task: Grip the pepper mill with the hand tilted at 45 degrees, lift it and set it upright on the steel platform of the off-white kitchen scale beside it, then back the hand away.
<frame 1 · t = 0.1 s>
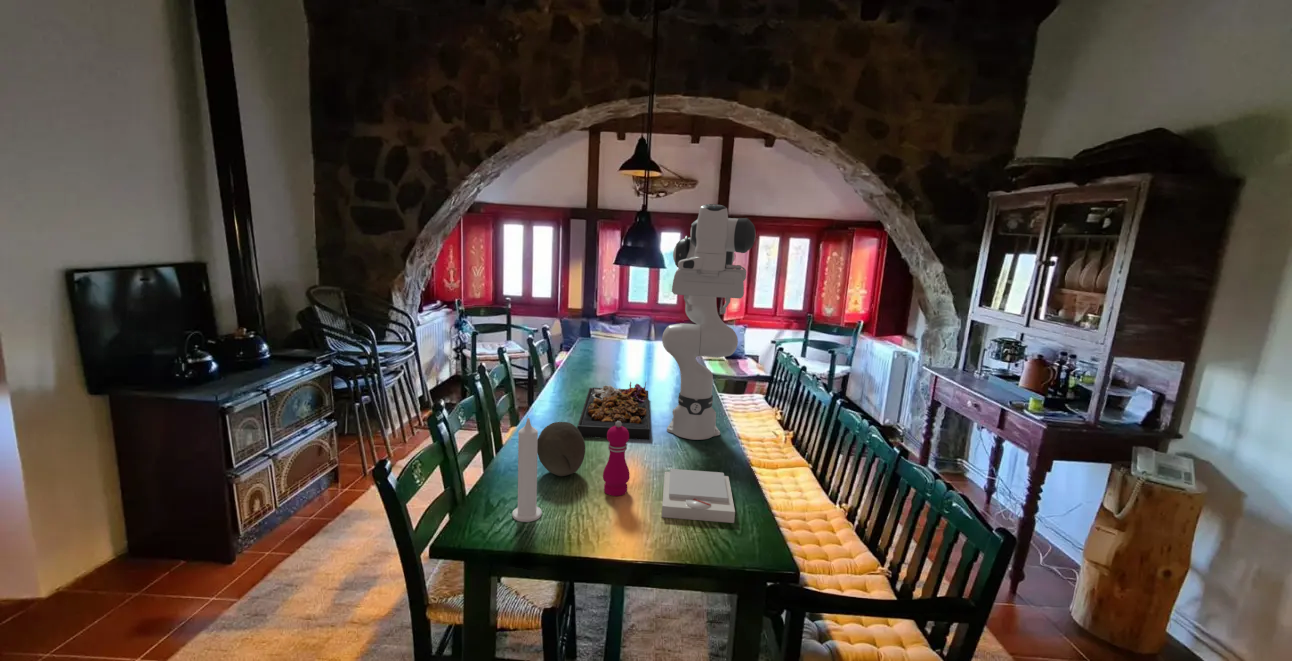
hand: (705, 312, 158), 48 cm above the table, tool pointing down, fingers open, 8 cm apart
pepper mill: (615, 491, 151), on the table
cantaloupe: (560, 474, 160), on the table
food platter: (616, 418, 211), on the table
kitchen scale: (696, 500, 148), on the table
candle: (527, 515, 137), on the table
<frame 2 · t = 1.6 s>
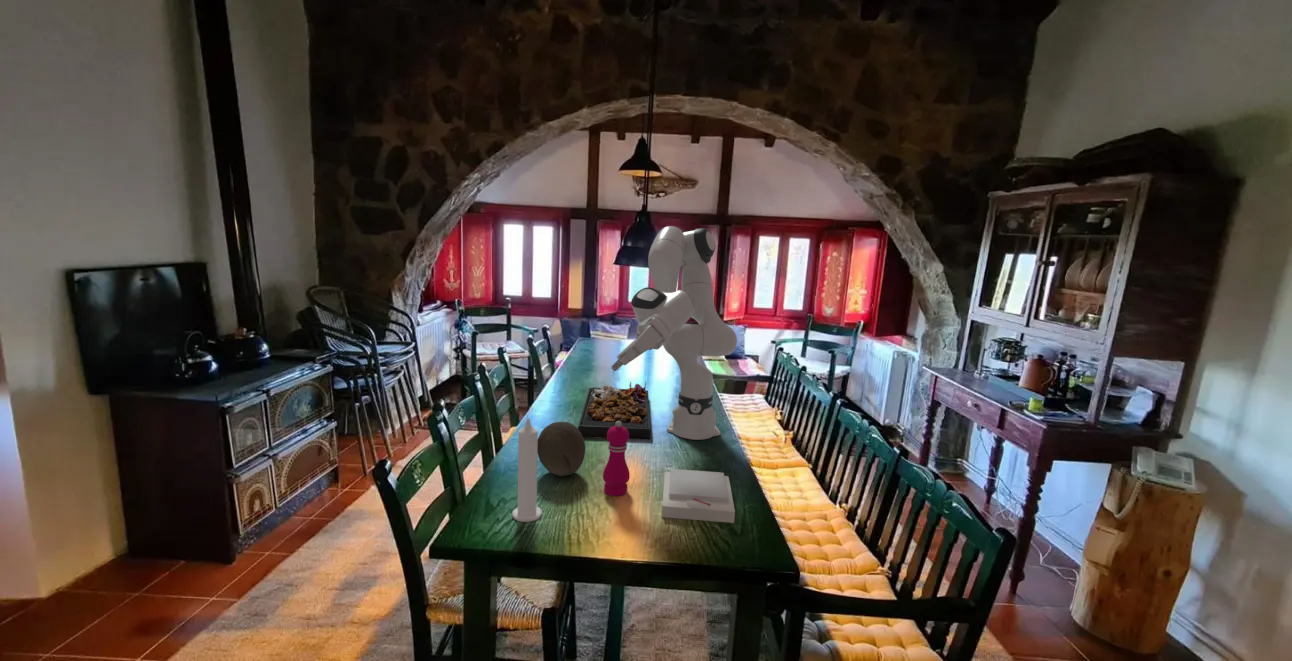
hand: (617, 366, 151), 34 cm above the table, tool tilted 55°, fingers open, 8 cm apart
nothing on the table moved.
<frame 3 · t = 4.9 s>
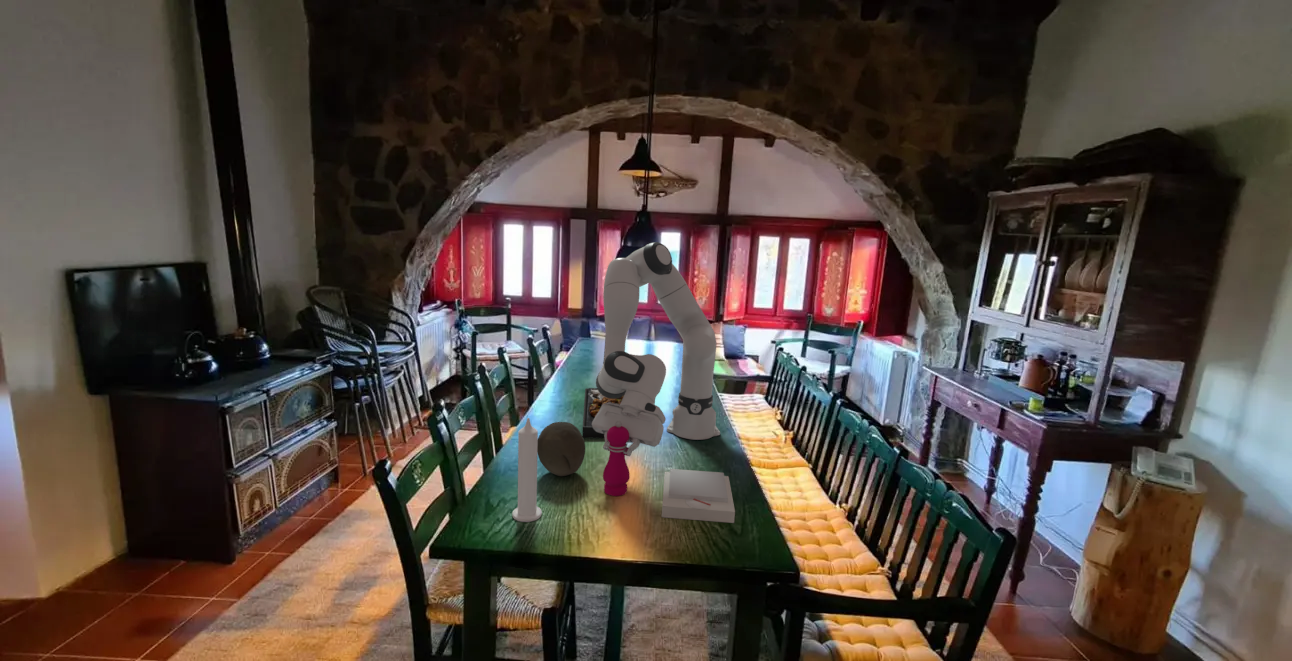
hand: (616, 452, 149), 11 cm above the table, tool tilted 45°, fingers closed on pepper mill, 5 cm apart
pepper mill: (615, 491, 151), on the table, touching gripper
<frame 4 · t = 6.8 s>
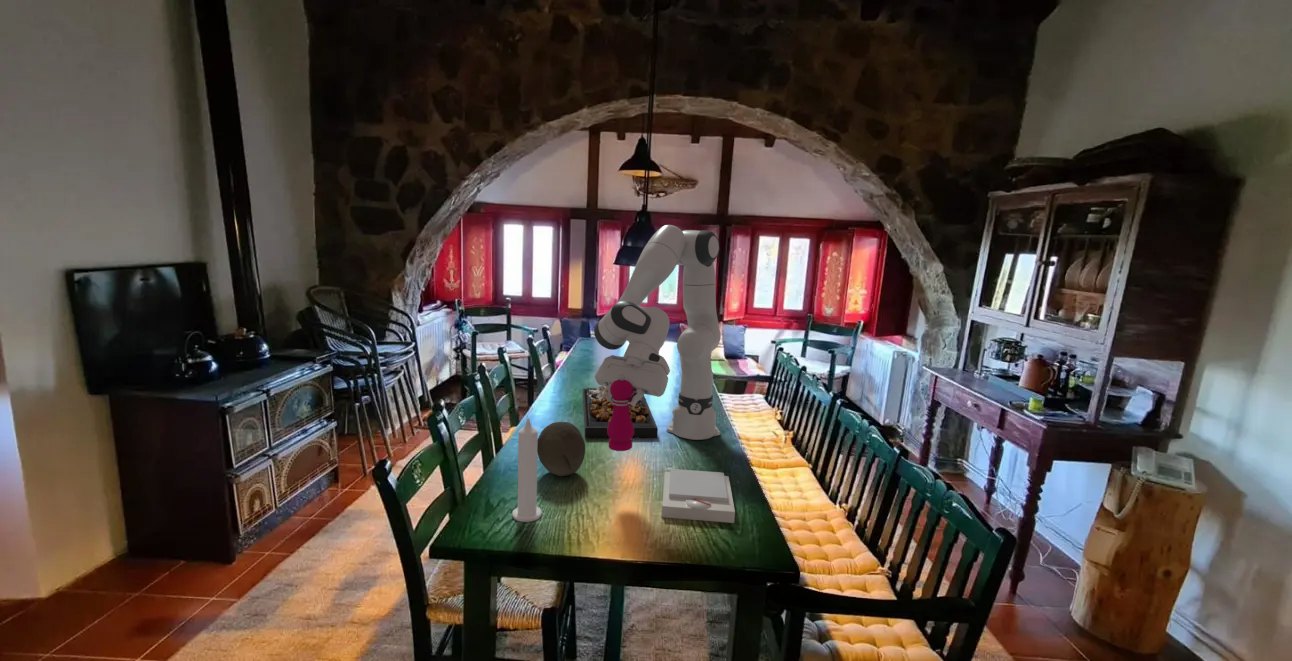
hand: (620, 403, 146), 25 cm above the table, tool tilted 45°, fingers closed on pepper mill, 5 cm apart
pepper mill: (620, 447, 149), point 13 cm above the table, touching gripper
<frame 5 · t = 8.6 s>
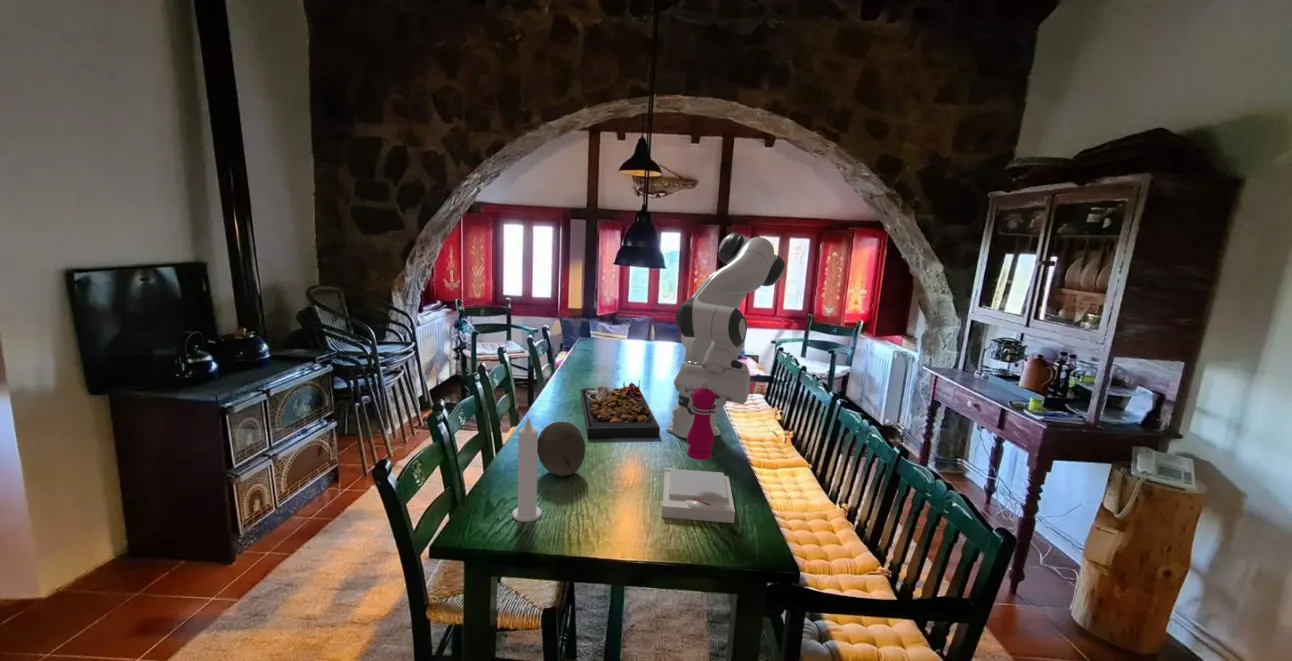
hand: (702, 410, 145), 25 cm above the table, tool tilted 45°, fingers closed on pepper mill, 5 cm apart
pepper mill: (699, 455, 148), point 12 cm above the table, touching gripper
when the fingers open (17 cm above the table, at t = 10.7 s): pepper mill moves 1 cm, resting on kitchen scale.
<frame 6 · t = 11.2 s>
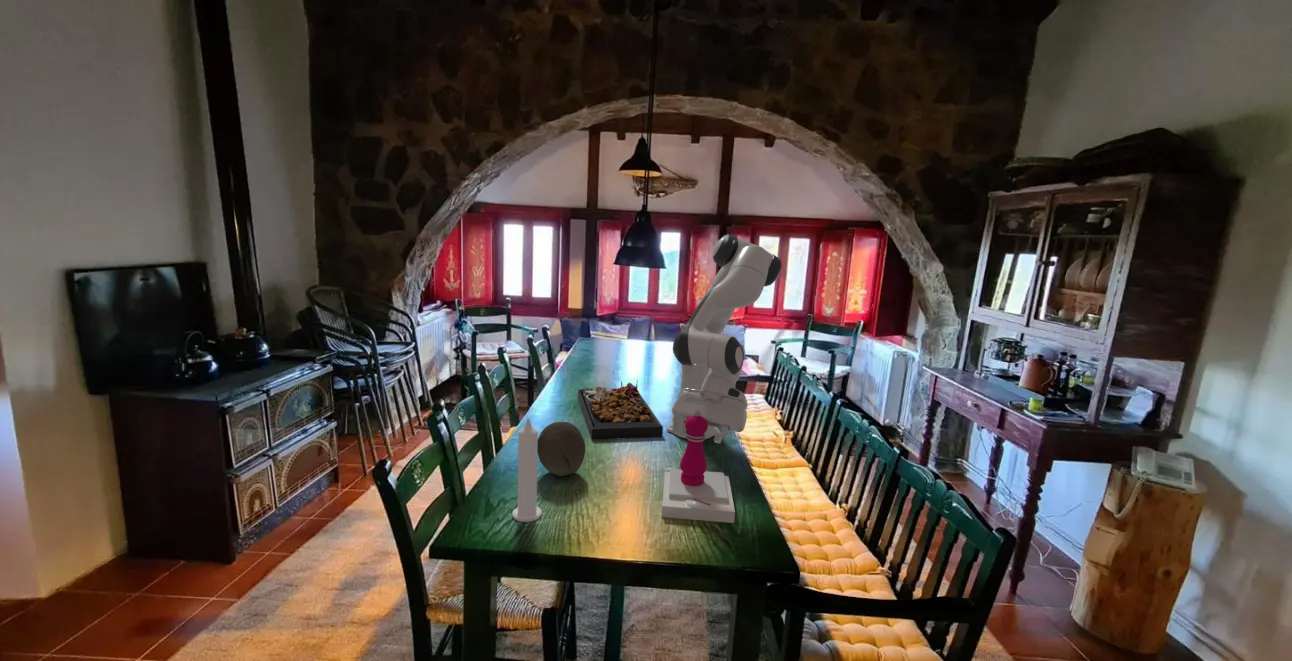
hand: (700, 438, 146), 17 cm above the table, tool tilted 45°, fingers open, 8 cm apart
pepper mill: (692, 481, 150), point 4 cm above the table, touching gripper, kitchen scale
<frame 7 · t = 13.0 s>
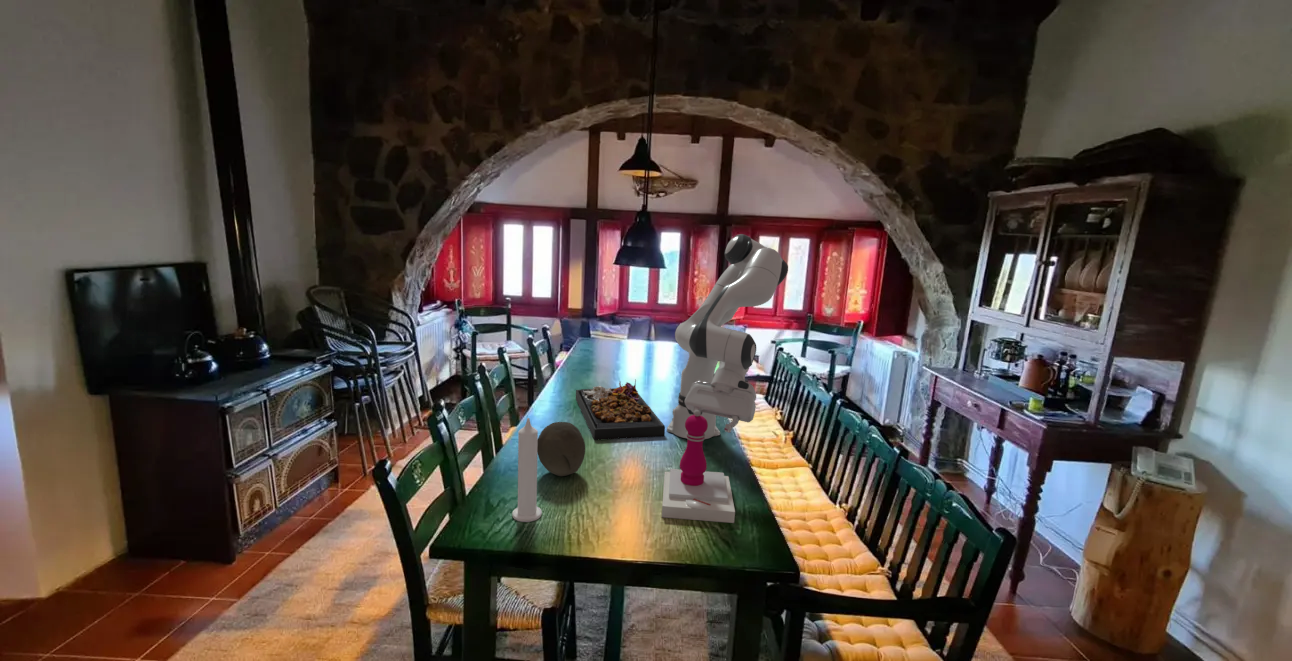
hand: (711, 427, 155), 17 cm above the table, tool tilted 45°, fingers open, 8 cm apart
pepper mill: (691, 481, 150), point 4 cm above the table, touching kitchen scale
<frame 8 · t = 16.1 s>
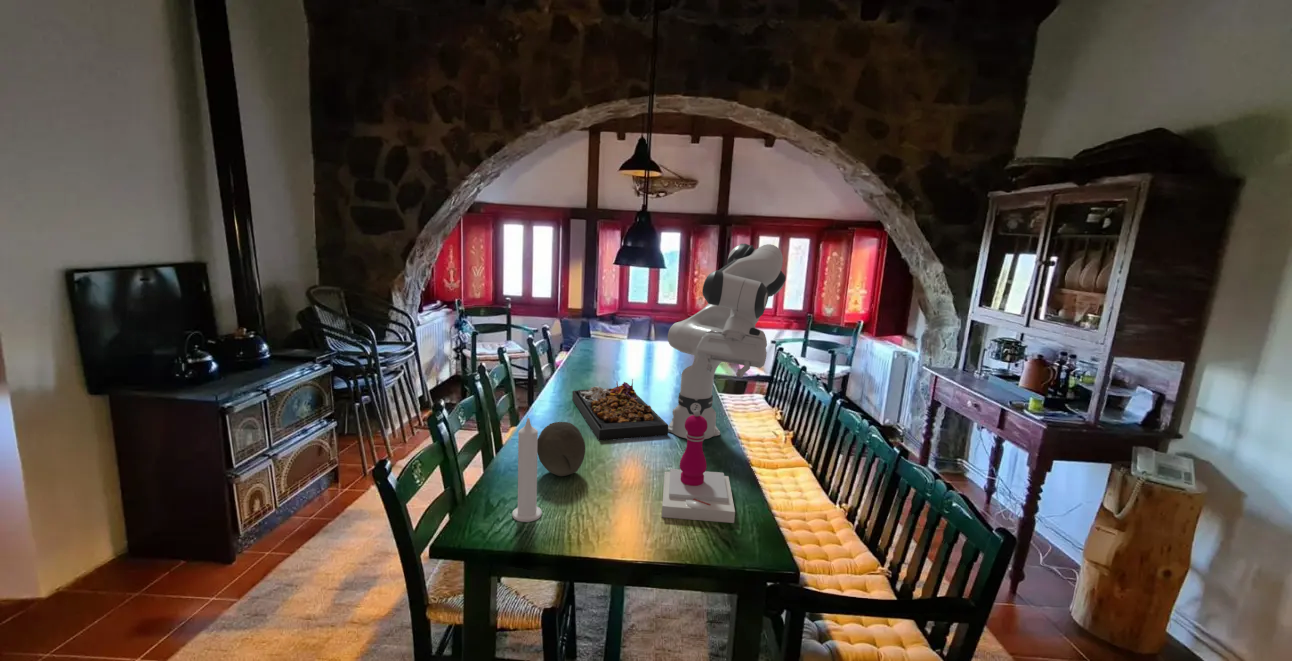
hand: (723, 373, 157), 31 cm above the table, tool tilted 45°, fingers open, 8 cm apart
at the end: pepper mill inside the target area on the kitchen scale (1.7 cm from its centre), point 4.0 cm above the kitchen scale's base; pepper mill tilted 1°; the gripper is holding nothing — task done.
